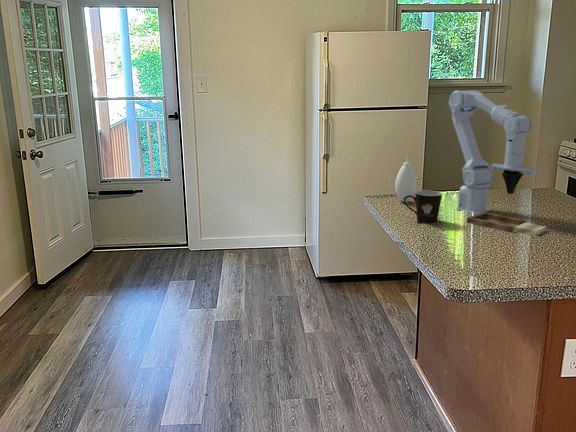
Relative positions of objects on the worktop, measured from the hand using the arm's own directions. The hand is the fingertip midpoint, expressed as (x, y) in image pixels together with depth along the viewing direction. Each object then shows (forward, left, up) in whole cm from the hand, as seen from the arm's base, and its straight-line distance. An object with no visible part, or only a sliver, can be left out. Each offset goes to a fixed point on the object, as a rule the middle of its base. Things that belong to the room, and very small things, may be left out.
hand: (510, 193), depth 181 cm
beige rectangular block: (+12, -9, -10) cm, 18 cm away
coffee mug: (-19, -22, -10) cm, 31 cm away
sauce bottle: (-40, -3, -10) cm, 41 cm away
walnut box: (0, -9, -9) cm, 13 cm away
